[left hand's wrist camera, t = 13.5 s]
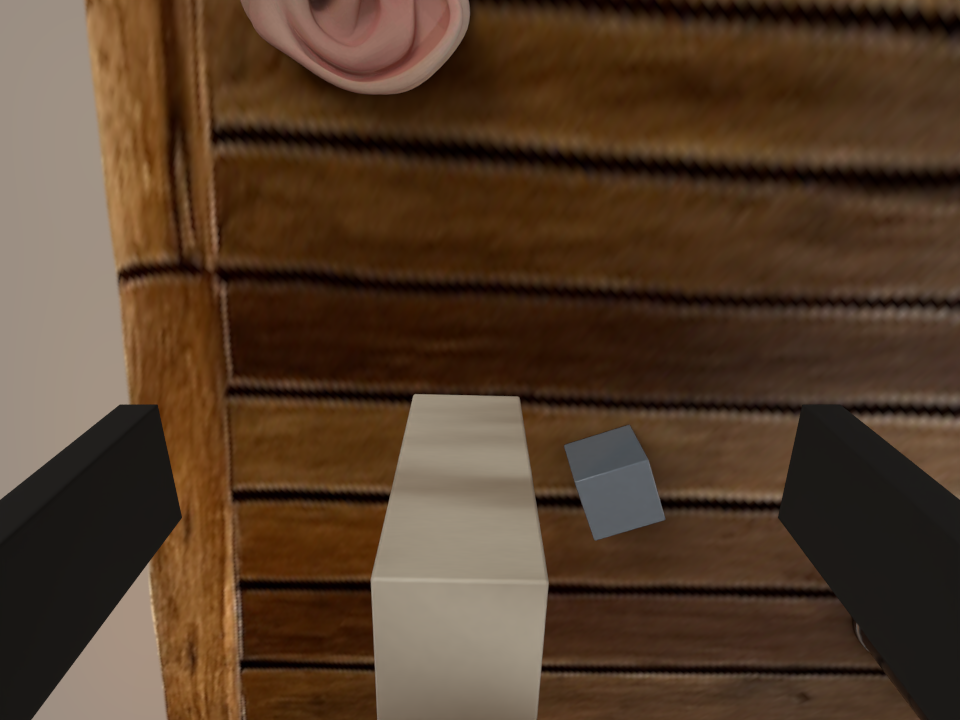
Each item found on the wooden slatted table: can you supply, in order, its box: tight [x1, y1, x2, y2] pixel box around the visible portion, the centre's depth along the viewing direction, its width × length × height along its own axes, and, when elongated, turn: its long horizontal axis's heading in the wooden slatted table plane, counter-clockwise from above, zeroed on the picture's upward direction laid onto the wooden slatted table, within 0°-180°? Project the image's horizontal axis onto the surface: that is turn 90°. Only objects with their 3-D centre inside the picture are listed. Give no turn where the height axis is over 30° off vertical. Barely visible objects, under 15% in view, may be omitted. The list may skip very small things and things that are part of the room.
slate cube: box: [564, 425, 665, 540], centre depth 43 cm, size 5×5×5 cm
